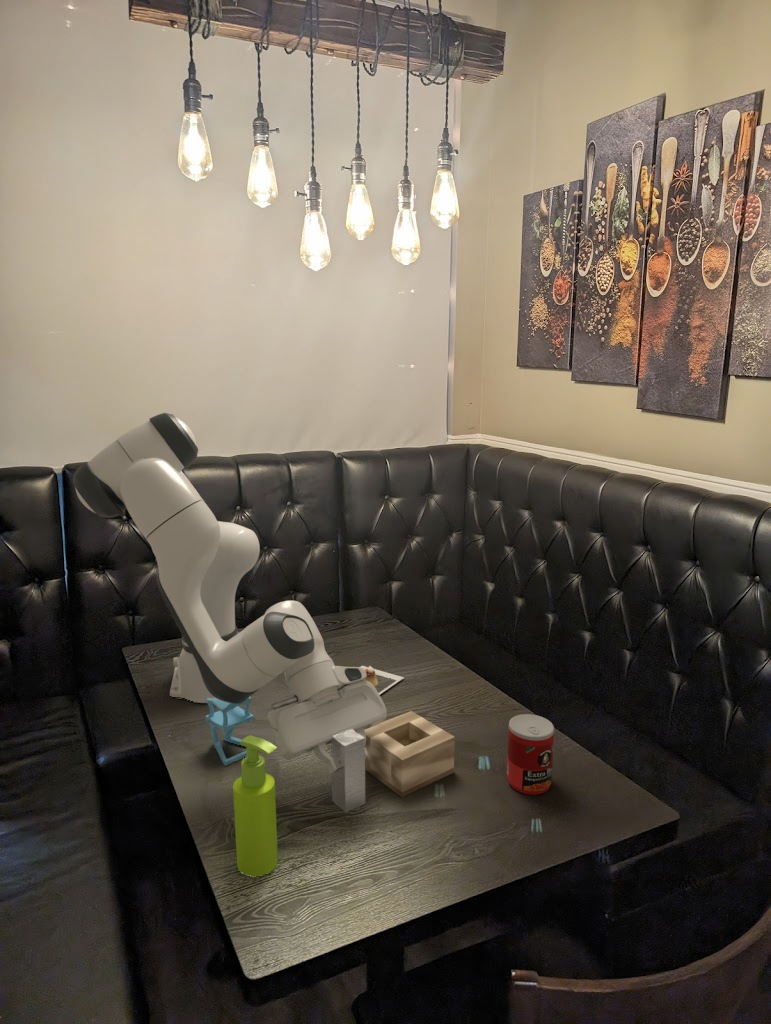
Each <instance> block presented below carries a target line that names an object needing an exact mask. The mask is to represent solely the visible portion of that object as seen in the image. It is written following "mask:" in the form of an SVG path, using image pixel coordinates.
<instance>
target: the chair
mask: <svg viewBox="0 0 771 1024" xmlns="http://www.w3.org/2000/svg"><path fill="white" fill-rule="evenodd" d="M251 701H252V697H251V696H250V697H249V698H248V699H246V700H245V701H244V702H242V703H239V704H234V703H228V702H224V701H221V700H219V699H217V698H212V699H210V698H207V702H208V703H207V705H208V708H209V714H207V715H205V721H207V723H208V726H209V729H210V733H211V737H212V738H211V739H212V746H213V745H214V746H215V747H214V746H213V747H214V749H215V748H216V749H215V750H217V751H216V752H218V753H217V755H218V754H219V755H218V756H220V757H219V759H220V758H221V759H220V761H221V760H222V761H221V763H222V762H223V763H224V764H225V765H228V764H230V763H232V762H234V761H236V762H238V761H237V760H239V759H241V760H243V759H244V757H247V753H246V750H245V751H242V752H239V753H238V754H235V755H232V756H230V757H229V758H227V757H226V754H225V752H224V749H223V747H222V744H221V743H220V742H221V741H219V740H220V739H219V736H218V731H217V730H218V729H219V730H221V731H222V732H223V733H224V736H223V741H224V740H225V741H224V742H226V741H228V742H231V743H234V744H233V745H235V744H237V745H236V746H239V745H240V741H241V740H242V739H241V738H238V737H234V736H232V734H233V731H234V730H235V727H238V726H241V725H243V724H246V723H250V722H251V721H254V719H255V718H254V716H255V715H254V714H252V713H250V710H249V708H250V705H251ZM213 705H214V706H215V707H216V708H217V709H218V711H216V712H215V708H214V706H213ZM242 705H245V706H244V708H241V707H240V706H242ZM228 742H227V743H228ZM231 743H230V744H231ZM241 747H243V745H241ZM244 748H246V746H244ZM242 758H243V759H242ZM239 761H240V760H239ZM223 763H222V764H223ZM234 763H235V762H234ZM224 764H223V765H224ZM232 764H233V763H232ZM225 765H224V766H225ZM230 765H231V764H230ZM228 766H229V765H228Z"/></svg>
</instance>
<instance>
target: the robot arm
mask: <svg viewBox="0 0 771 1024" xmlns="http://www.w3.org/2000/svg"><path fill="white" fill-rule="evenodd" d="M198 453H199V448H198V445H197V440H196V437H195V435H194V433H193V430H192V429H191V428H190V427H189V425H187V423H186V422H184V420H182V419H180V418H179V417H176V416H175V415H174V414H171V413H168V412H163V413H160V414H157V415H155V416H154V415H153V417H149V420H148V421H146V422H144V423H141V424H140V425H138V426H136V427H134V428H132V429H130V430H128V431H126V432H125V433H124V434H122V435H120V436H119V437H117V439H116V440H115V441H113V442H111V443H110V444H109V445H107V446H106V447H105V448H103V449H102V450H101V451H100V452H98V453H97V454H96V455H95V456H94V457H92V459H90V460H89V461H85V462H84V463H82V464H81V465H80V466H79V467H78V468H77V469H76V471H75V472H74V473H73V477H72V484H73V486H74V489H75V493H76V496H77V498H78V499H79V501H80V503H82V505H84V507H86V508H87V509H88V510H89V511H91V513H94V514H96V515H98V517H102V518H111V519H112V518H115V517H118V516H120V517H125V516H126V510H127V512H128V513H129V515H130V517H131V518H132V521H133V523H134V524H135V525H136V527H137V528H138V530H139V532H140V533H141V534H142V535H143V537H144V538H145V539H146V541H147V542H148V544H149V545H150V547H151V551H152V553H153V554H154V557H155V559H156V562H157V567H158V572H157V573H158V574H157V576H156V583H157V587H158V590H159V592H160V594H161V595H160V596H161V597H162V600H163V601H164V603H165V605H166V607H167V609H168V612H169V613H170V615H171V617H172V619H173V621H174V622H175V624H176V626H177V629H178V630H179V632H180V633H181V642H182V648H181V652H180V655H179V656H176V657H173V659H172V661H173V667H174V671H173V674H172V680H171V684H170V689H169V697H170V696H172V697H181V698H180V699H182V698H185V699H187V700H186V701H188V700H190V701H189V702H191V701H193V702H192V703H200V704H208V702H207V698H210V699H212V698H217V699H219V700H221V701H224V702H228V703H234V704H239V703H242V702H244V701H245V700H246V699H248V698H249V697H251V696H252V695H254V694H255V693H256V692H258V691H259V689H261V688H262V687H263V686H265V685H266V684H268V683H270V682H271V681H272V680H274V679H275V678H277V677H278V676H280V675H281V674H283V673H284V679H285V683H286V686H287V689H288V691H289V694H290V695H291V697H287V698H285V699H282V700H281V701H275V702H274V703H272V704H271V706H270V707H269V708H268V709H267V711H266V718H267V719H266V720H267V722H268V723H269V726H270V727H271V728H272V729H273V734H274V738H275V741H276V742H275V743H276V747H278V748H277V749H278V752H279V754H280V757H281V758H283V759H285V760H288V761H289V760H291V759H294V758H297V757H299V756H302V755H304V754H307V753H309V752H311V751H314V752H313V753H314V754H315V756H316V758H318V759H319V760H320V761H321V762H323V763H324V764H326V766H327V768H328V771H329V773H330V774H331V773H333V772H336V771H338V770H340V769H341V763H339V759H338V757H337V758H333V757H332V756H331V754H329V753H328V752H327V750H328V746H327V745H331V740H332V736H334V735H337V734H339V733H342V732H344V731H347V730H350V729H353V730H354V731H356V732H357V733H358V734H360V735H361V736H363V737H364V738H365V741H366V733H365V731H364V730H366V729H368V728H371V727H373V726H376V725H378V724H380V723H382V722H384V721H386V719H387V717H388V716H387V715H388V714H387V713H388V709H387V707H386V705H385V703H384V701H383V699H382V697H381V694H380V695H379V691H378V690H377V688H376V686H375V687H374V686H373V684H371V683H370V682H368V681H364V680H365V678H366V677H367V674H366V672H365V670H364V669H363V668H361V666H358V667H356V666H341V665H335V663H334V660H333V659H332V658H331V656H330V655H328V653H327V651H326V649H325V648H326V647H325V642H324V639H323V637H322V635H321V633H320V631H319V629H318V626H317V625H316V623H315V621H314V619H313V618H312V616H311V614H310V613H309V611H308V610H307V608H306V607H305V606H304V605H303V604H302V603H301V602H300V601H296V600H293V599H292V600H284V601H280V602H277V603H275V604H273V605H271V606H270V607H269V608H267V609H266V611H265V612H264V614H263V615H262V616H260V617H259V618H257V619H256V620H255V621H253V622H252V623H250V624H248V625H247V626H245V628H244V629H242V630H241V631H238V626H237V625H236V613H235V611H236V609H235V607H236V605H235V603H236V602H235V601H236V593H237V589H238V586H239V583H240V581H241V579H242V578H243V577H244V576H245V575H246V574H247V573H248V572H249V571H251V570H252V569H253V568H254V566H255V565H256V564H257V562H258V560H259V557H260V551H261V549H260V541H259V538H258V536H257V534H256V533H255V531H254V530H252V529H250V528H248V527H245V526H242V525H241V524H237V523H234V522H227V521H219V520H217V518H216V516H215V514H214V512H212V510H211V508H209V506H208V505H207V504H206V502H205V500H204V498H202V496H201V495H200V494H199V492H198V491H197V489H196V488H195V486H193V484H192V483H191V481H190V480H189V479H188V477H187V476H186V474H185V473H184V472H183V470H184V469H187V468H189V467H190V466H191V465H192V464H193V462H195V460H196V459H197V458H198ZM172 697H171V698H172ZM185 699H184V700H185ZM367 757H368V752H367V750H366V748H365V759H366V758H367Z"/></svg>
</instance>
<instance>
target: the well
mask: <svg viewBox="0 0 771 1024" xmlns="http://www.w3.org/2000/svg"><path fill="white" fill-rule="evenodd" d="M364 731H365V733H366V741H365V748H366V750H367V752H368V757H367V758H366V759H365V771H366V772H368V773H369V774H370V775H372V776H373V777H374V778H376V779H377V780H378V781H380V782H381V783H383V784H384V785H385V786H387V788H390V790H392V791H393V792H394V793H395V794H397V795H398V796H400V797H401V798H404V797H407V795H411V794H412V793H414V792H416V791H419V790H421V789H422V788H425V787H427V786H429V785H431V784H433V783H435V782H437V781H439V780H441V779H443V778H445V777H447V776H449V775H451V774H452V775H453V774H454V773H455V745H456V744H455V743H456V742H455V738H456V737H455V736H454V735H453V734H451V733H449V732H448V731H445V730H444V729H442V728H440V727H439V726H437V725H436V724H434V723H432V722H430V721H429V720H428V719H426V718H424V717H422V716H421V715H419V714H417V713H415V712H414V711H413V710H410V711H408V712H405V713H402V714H400V715H397V716H395V717H393V718H390V719H387V720H383V721H382V722H381V723H380V724H378V725H376V726H373V727H371V728H368V729H366V730H364Z"/></svg>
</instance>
